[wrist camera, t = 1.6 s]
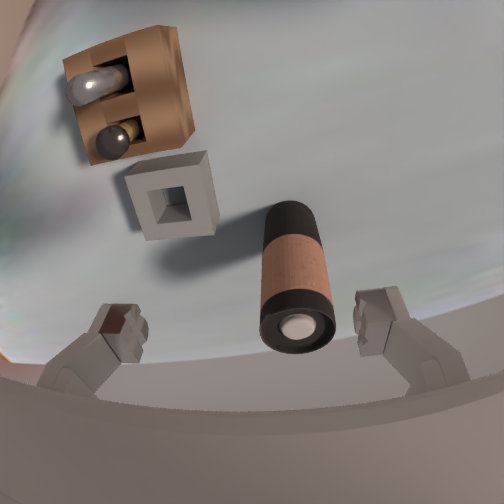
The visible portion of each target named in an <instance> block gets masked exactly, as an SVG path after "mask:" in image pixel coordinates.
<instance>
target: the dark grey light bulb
mask: <svg viewBox="0 0 504 504" xmlns="http://www.w3.org/2000/svg"><path fill="white" fill-rule="evenodd" d="M143 131H144V129H143V125H142V121H141V117H140V115H138V116H134V117H131V118H129V119H127V120H126V121H124V122H123V123H121V124H120V125H109V126H107V127H105V128H104V129H102V130H101V131H100V132H99V133H98V135H97V137H96V141H95V144H96V149H97V151H98V153H99V154H100V155H101V156H102V157H103V158H105V159H107V160H117V159H119V158H121V157H122V156H123V155H124V154H125V153H126V152H127V151H128V149H129V146H130V142H131V141H132V140H133V139H134V138H136V137H137V136H138V135H139V134H141V133H142V132H143Z"/></svg>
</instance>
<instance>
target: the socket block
mask: <svg viewBox="0 0 504 504" xmlns="http://www.w3.org/2000/svg"><path fill="white" fill-rule="evenodd" d="M126 58H128V62H129V67H130V72H131V76H132V81H133V86H134V89H131V90H128V91H126V90H125V88H123V89H120V90H118V91H115V92H113V93H110V94H108V95H105V96H103V97H101V98H98V99H96V100H94V101H92V102H90V103H87V104H85V105H83V106H75V105H73V107H74V111H75V114H76V118H77V122H78V125H79V129H80V132H81V136H82V139H83V142H84V146H85V149H86V152H87V155H88V158H89V161H90V164H91V166H92V165H96V164H100V163H105V162H109V161H114V160H107V159H105V158H103V157H102V156H101V155H100V154H99V153H98V151H97V149H96V144H95V141H96V137H97V135H98V133H99V132H100V131H101V130H102V129H104V128H105V127H107V126H109V125H120V124H121V123H123V122H124V121H126V120H127V119H129V118H131V117H134V116H138V115H140V117H141V121H142V125H143V129H144V131H143V132H142V133H141V134H139V135H138V136H137V137H136V138H134V139H133V140H132V141H131V142H130V146H129V149H128V151H127V152H126V153H125V154H124V155H123V156H122V157H121V158H119V159H123V158H128V157H132V156H137V155H143V154H148V153H153V152H159V151H164V150H170V149H176V148H181V147H182V146H183V145H184V144H185V142H186V141H187V140H188V139H189V137H190V136H191V135H192V134H193V132H194V131H195V127H194V122H193V117H192V111H191V106H190V101H189V96H188V90H187V85H186V79H185V74H184V68H183V63H182V57H181V51H180V46H179V40H178V34H177V28H176V27H169V26H161V25H156V26H152V27H149V28H145V29H142V30H139V31H135V32H132V33H129V34H126V35H123V36H120V37H117V38H115V39H112V40H109V41H106V42H104V43H101V44H98V45H96V46H93V47H91V48H88V49H86V50H84V51H81V52H79V53H77V54H74V55H72V56H70V57H68V58H65V59H63V64H64V69H65V74H66V78H67V83H68V82H69V80H70V79H71V78H72V77H74V76H76V75H79V74H83V73H86V72H90V71H93V70H97V69H101V68H105V67H109V66H114V65H118V64H120V62H119V61H120V60H123V59H126ZM117 160H118V159H117Z"/></svg>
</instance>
